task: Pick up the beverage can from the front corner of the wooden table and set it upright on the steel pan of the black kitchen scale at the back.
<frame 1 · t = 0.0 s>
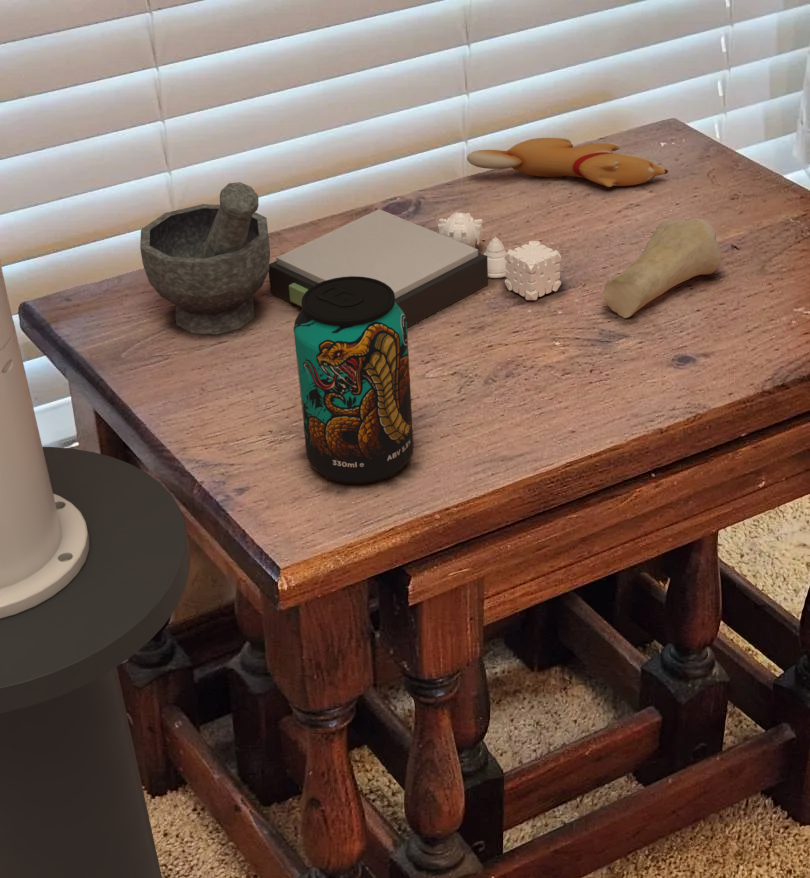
toy: (565, 153, 136), point 1 cm above the table
mortar and pestle: (221, 319, 119), on the table
beverage can: (360, 461, 102), on the table
scale: (379, 289, 121), on the table
game pieces: (495, 272, 123), on the table
tan bone: (654, 289, 119), on the table
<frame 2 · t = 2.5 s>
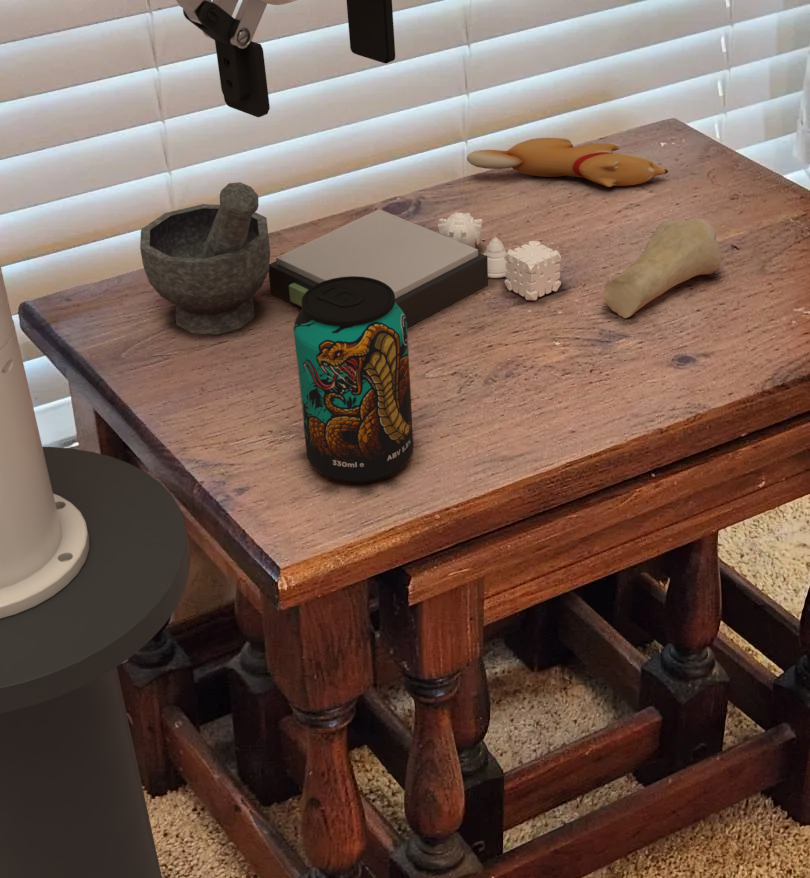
hand: (312, 83, 89), 25 cm above the table, tool pointing down, fingers open, 9 cm apart
nothing on the table moved.
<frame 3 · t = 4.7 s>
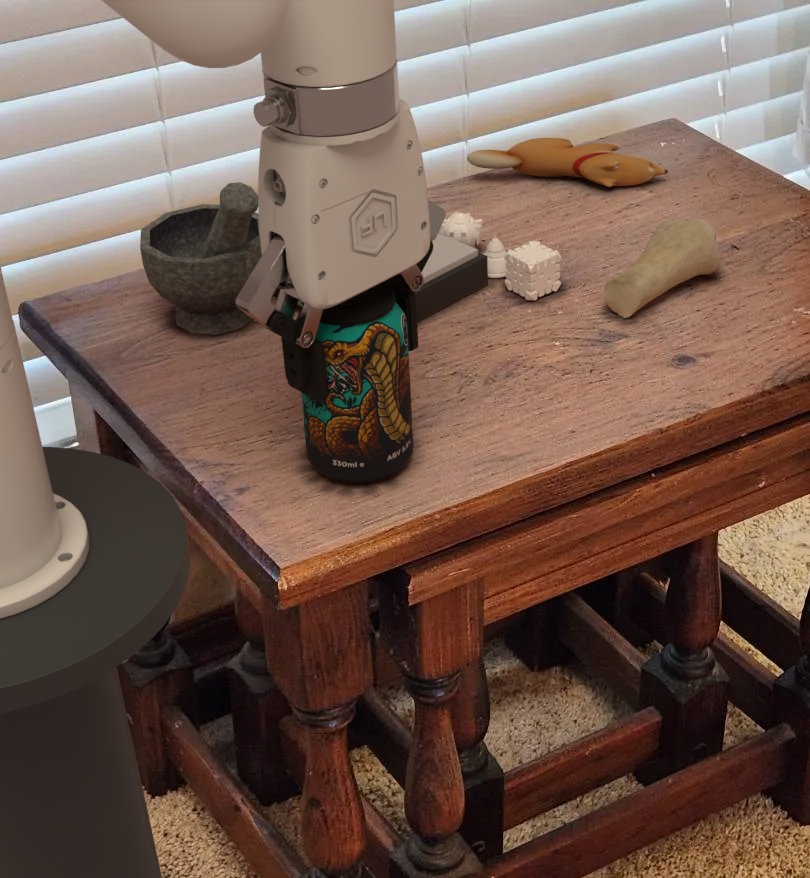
hand: (353, 365, 98), 7 cm above the table, tool pointing down, fingers closed on beverage can, 7 cm apart
beverage can: (360, 461, 102), on the table, touching gripper
everything else where it was.
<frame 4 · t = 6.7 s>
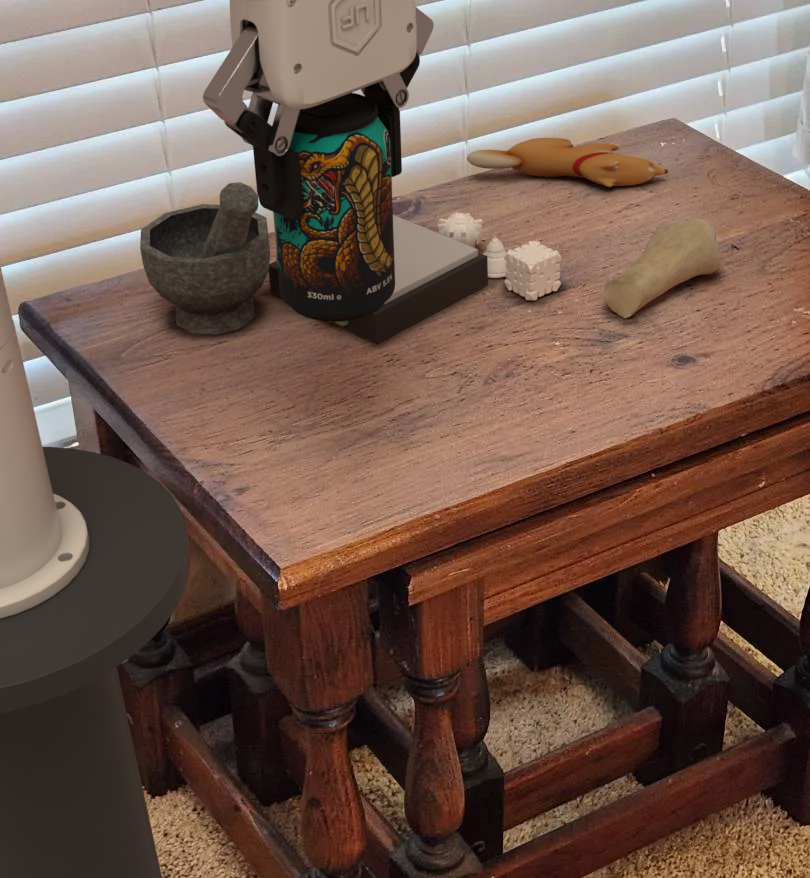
hand: (331, 188, 90), 19 cm above the table, tool pointing down, fingers closed on beverage can, 7 cm apart
beverage can: (338, 301, 95), point 12 cm above the table, touching gripper
everything else where it was.
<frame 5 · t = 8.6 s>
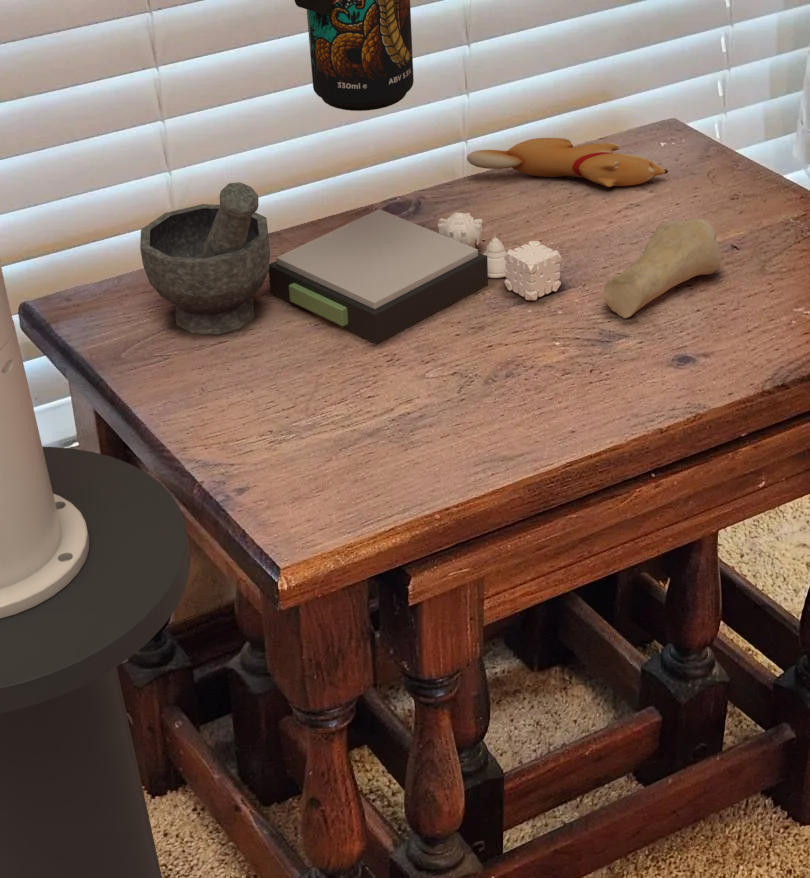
beverage can: (364, 97, 109), point 16 cm above the table, touching gripper
everything else where it was.
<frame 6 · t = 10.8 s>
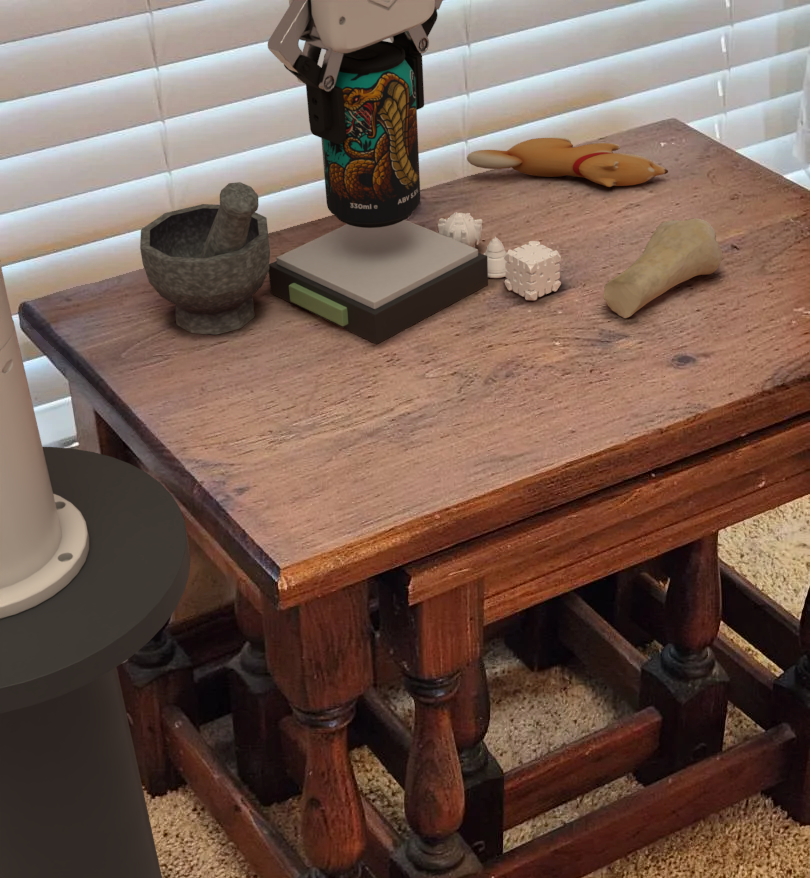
hand: (368, 119, 112), 14 cm above the table, tool pointing down, fingers closed on beverage can, 7 cm apart
beverage can: (374, 213, 117), point 6 cm above the table, touching gripper
everything else where it was.
when the fingers open (10 cm above the table, at t = 12.3 s): beverage can stays where it is, resting on scale.
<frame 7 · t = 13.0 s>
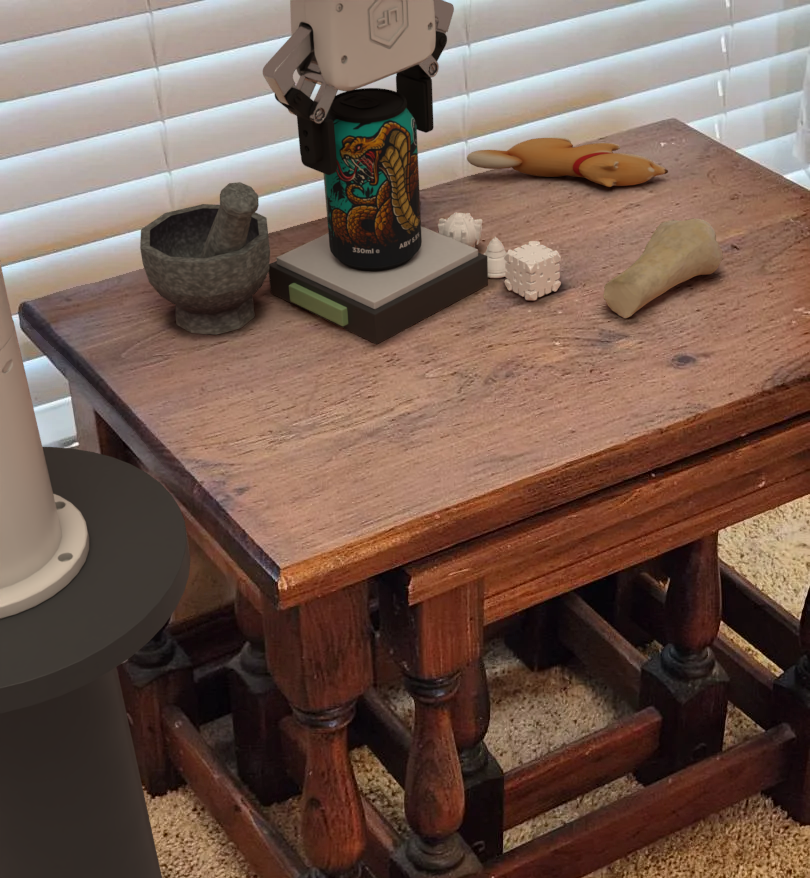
hand: (368, 147, 114), 12 cm above the table, tool pointing down, fingers open, 9 cm apart
beverage can: (376, 256, 119), point 3 cm above the table, touching scale
everything else where it was.
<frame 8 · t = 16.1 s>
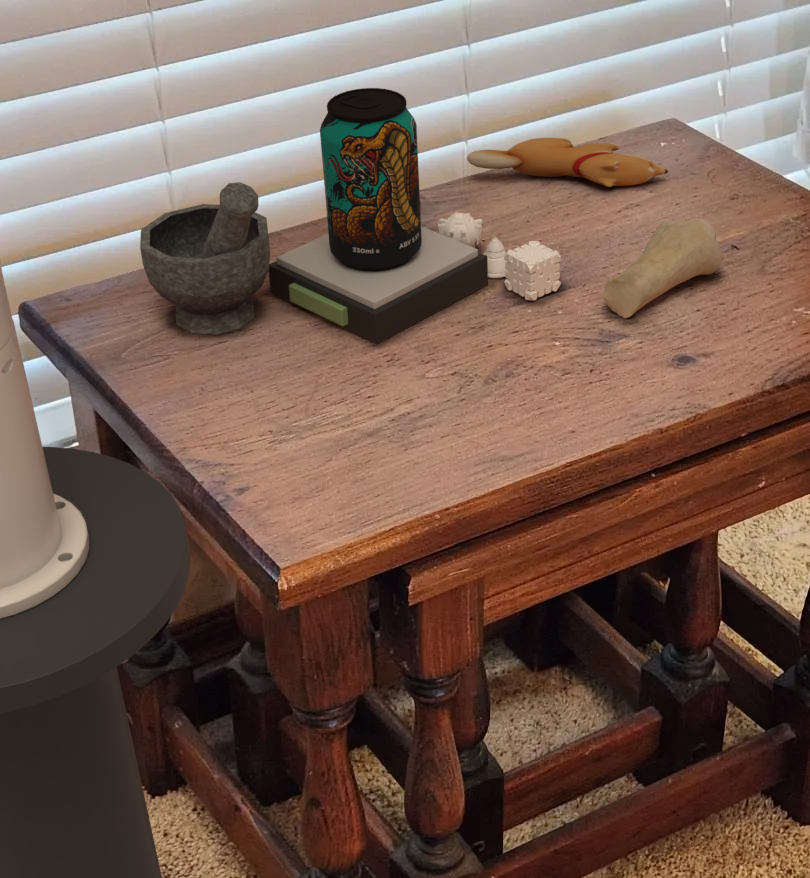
nothing on the table moved.
at the end: beverage can inside the target area on the scale (0.1 cm from its centre), point 2.9 cm above the scale's base; beverage can tilted 0°; the gripper is holding nothing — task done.
